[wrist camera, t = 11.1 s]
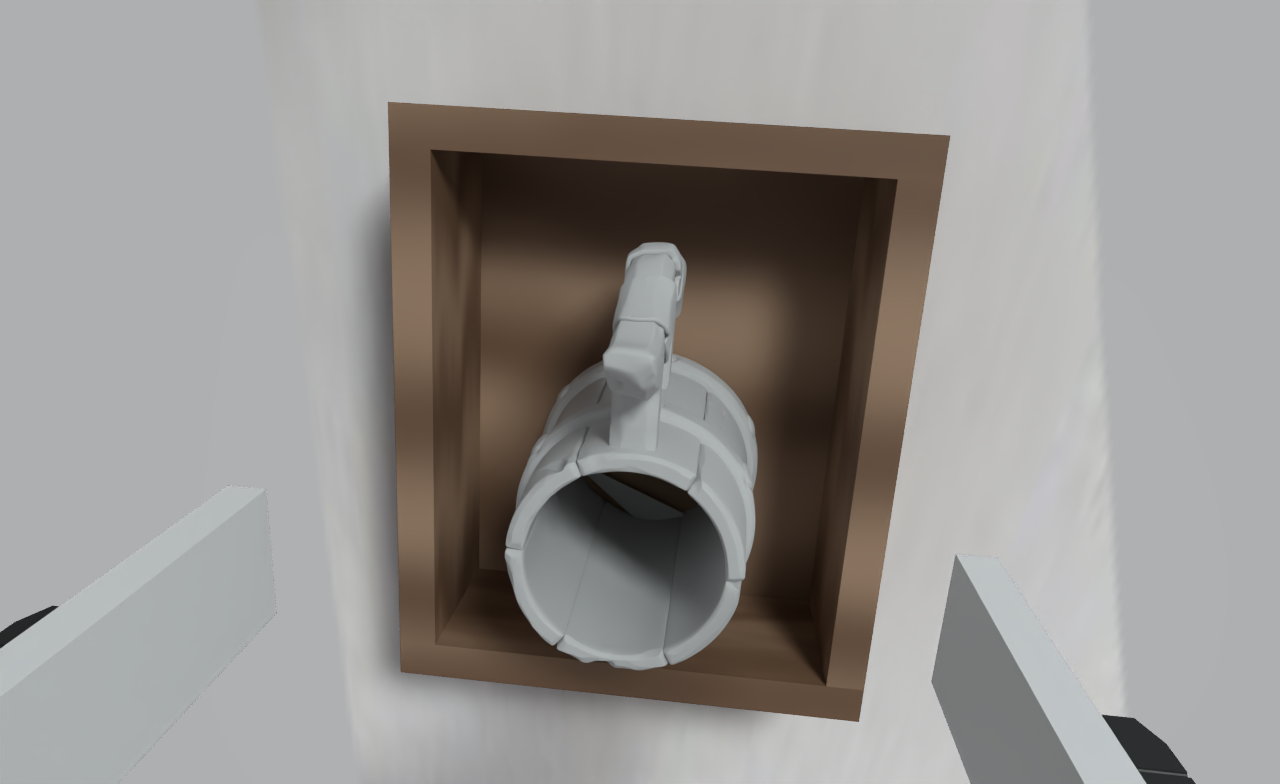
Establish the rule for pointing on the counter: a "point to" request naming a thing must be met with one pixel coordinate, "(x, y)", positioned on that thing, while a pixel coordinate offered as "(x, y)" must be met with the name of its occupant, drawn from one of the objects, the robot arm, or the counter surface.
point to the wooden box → (704, 332)
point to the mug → (637, 492)
